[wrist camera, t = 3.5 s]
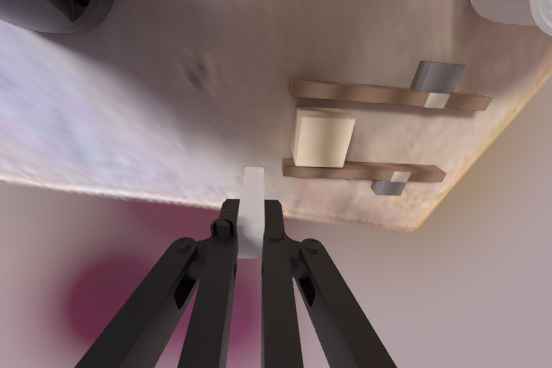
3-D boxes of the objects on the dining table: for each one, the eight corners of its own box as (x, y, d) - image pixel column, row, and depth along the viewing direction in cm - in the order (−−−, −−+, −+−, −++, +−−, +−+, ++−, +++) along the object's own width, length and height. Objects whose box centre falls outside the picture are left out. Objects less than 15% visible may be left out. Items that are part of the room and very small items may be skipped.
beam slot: (279, 184, 33) (281, 194, 31) (294, 48, 23) (298, 49, 21) (421, 189, 35) (433, 199, 33) (489, 67, 26) (512, 69, 23)
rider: (290, 149, 30) (295, 166, 26) (295, 105, 27) (302, 117, 23) (331, 150, 31) (342, 167, 27) (341, 108, 27) (355, 119, 23)
